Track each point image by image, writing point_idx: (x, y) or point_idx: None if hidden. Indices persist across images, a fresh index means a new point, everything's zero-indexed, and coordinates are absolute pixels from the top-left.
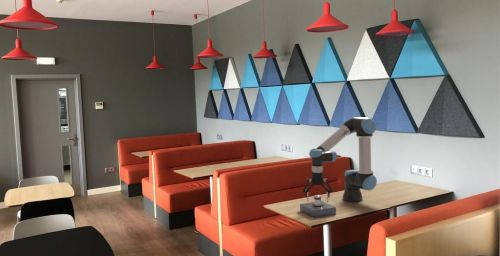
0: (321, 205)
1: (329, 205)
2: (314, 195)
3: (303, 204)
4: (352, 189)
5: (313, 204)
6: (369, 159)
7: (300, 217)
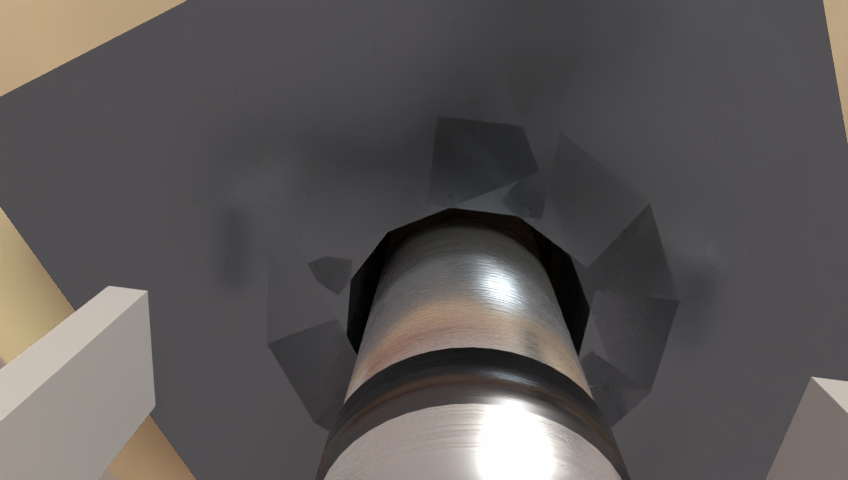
0: (583, 289)
1: (808, 340)
2: None
3: (55, 172)
4: None
5: (360, 198)
6: None
7: (129, 457)
